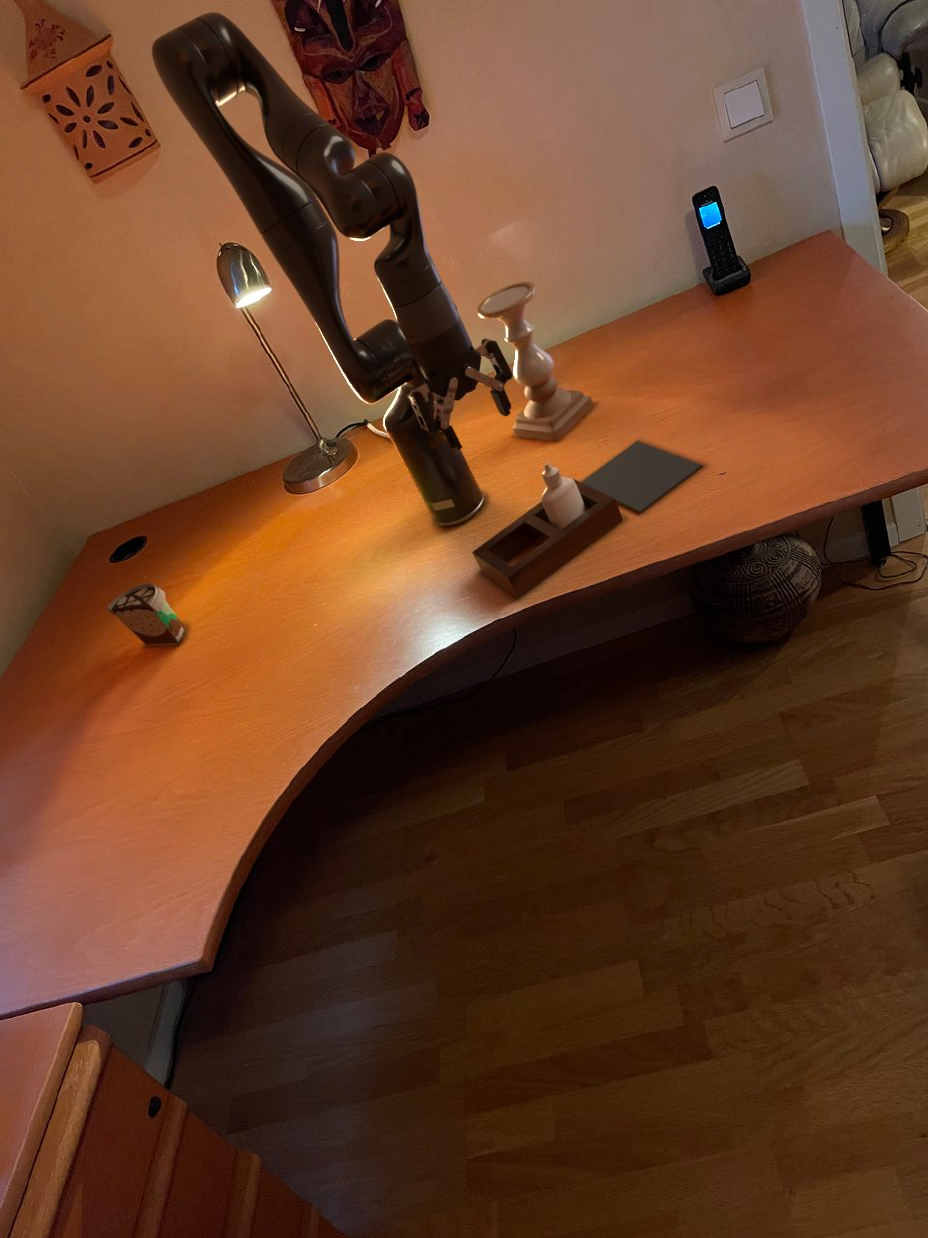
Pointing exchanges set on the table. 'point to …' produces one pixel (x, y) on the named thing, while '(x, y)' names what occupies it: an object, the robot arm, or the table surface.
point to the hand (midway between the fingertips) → (481, 431)
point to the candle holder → (534, 369)
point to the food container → (148, 615)
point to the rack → (545, 542)
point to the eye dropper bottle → (561, 498)
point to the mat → (641, 475)
